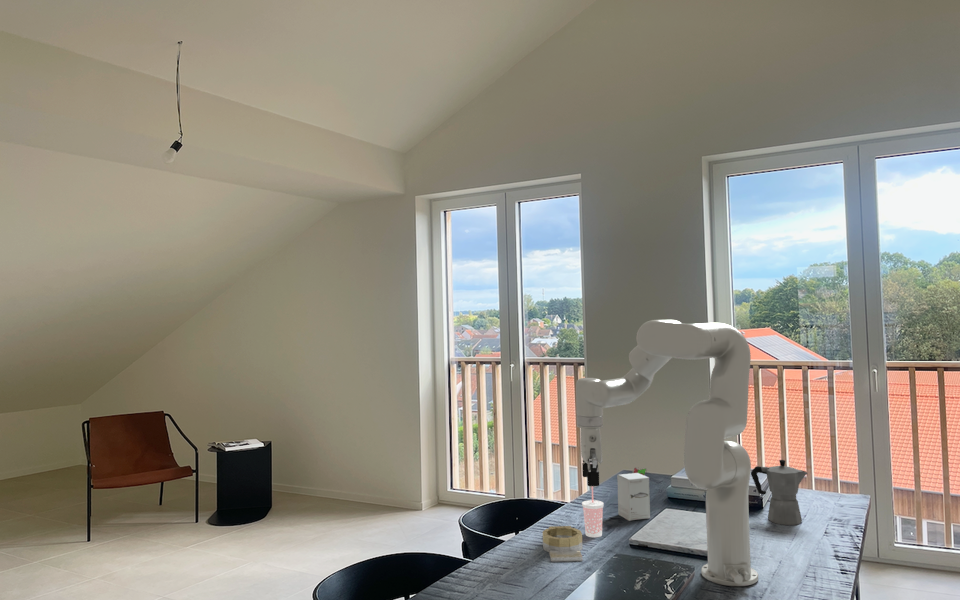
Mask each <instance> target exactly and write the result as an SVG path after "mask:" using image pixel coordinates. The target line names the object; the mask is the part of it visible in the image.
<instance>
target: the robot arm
mask: <svg viewBox="0 0 960 600" xmlns="http://www.w3.org/2000/svg"><path fill="white" fill-rule="evenodd" d="M636 343H637V345H636V346H634V347H633V349H631V351H630V352H629V353H628V360H629V363H630V365H631V367H632V368H631V369H629V371H628V372H627V373H626V374H624V375H623V376H622V377H618V378H611V379H604V380H601V379H600V378H595V377H583V378H582V377H581V378H578V379H577V380H576V382H575V400H576V401H575V402H576V403H575V405H576V406H575V407H576V409H575V410H576V413H575V414H576V419H575V420H576V427H577V428H579V429H580V431H579V432H580V457H581V458H582V463H581V464H582V468H581V469H582V478H587V481H586V482H587V486H588V487H591V486H593V487H599V486H600V470H599V469H600V468H599V464H602V463H603V447H602V434H601V428H603V427H604V409H606V408H607V409H608V408H612V407H618V406H624V405H629V404H631V403H632V402H635V401H636V400H637V399H638V398H640V397H641V396H642V395H643V394H644V393H645V392H646V391H647V390H648V389H649V388H650V387H651V385H652V383H653V381H654V378H655V374H656V373H657V372H658V371H659V370H661V369H662V367H664V366H665V365H666V364H667V363H668V362H669V361H670V360H672V359H673V358H674V359H680V360H689V361H690V360H691V361H692V360H693V361H694V360H695V361H697V360H705V359H714V360H715V362H714V363H715V364H714V366H713V368H712V371H711V373H710V374H711V375H710V379H709V380H710V382H709V385H710V388H709V396H708V399H703V400H699V401H698V402H696V403H695V404H693V405H692V406H691V408H690V409H689V411H688V413H687V416H686V419H685V428H684V447H683V448H684V449H683V450H684V452H683V466H684V467H683V468H684V472H685V475H686V477H687V479H688V481H689V482H690V484H692V485H693V486H694V487H695V488H698V489H700V490H706V491H705V518H706V519H705V521H706V542H707V543H706V544H707V545H706V546H707V547H706V548H707V550H706V551H707V563H706V564H704V565H702V566H701V571H700V573H701V576H702V577H703V578H704V579H706V580H707V581H708V582H709V581H710V582H711V583H714V584H718V585H722V586H729V587H746V586H748V587H749V586H752V585H754V584H756V583H757V582H758V581H759V573H758V572H757V570H755V569H754V568H752V567H751V561H752V560H751V541H750V540H751V538H750V536H751V535H750V517H749V516H750V515H749V511H750V510H749V507H750V506H749V505H750V504H749V492H750V491H749V488H750V480H751V479H750V478H751V471H752V466H751V465H752V463H751V458H750V456H749V453H748V451H747V449H745V447H743V445H741V444H739V443H738V442H736V441H731V440H725V439H730V438H733V437H736V436H738V435H740V434H742V433H743V432H744V431H745V429H746V427H747V423H748V408H749V391H750V390H749V383H750V382H749V381H750V372H751V371H750V370H751V349H750V345H749V343H748V340H747V338H746V337H745V336H744V335H743V333H742V332H741V331H739V330H738V329H737V328H735V327H734V326H732V325H729V324H727V323H723V322H713V321H712V322H702V323H701V322H698V323H684V322H683V323H682V322H681V321H679V320H676V319H671V318H669V319H668V318H667V319H665V318H664V319H651V320H648V321H645V322H644V323H642V324H641V326H640V327H639V328H638V329H637V332H636Z"/></svg>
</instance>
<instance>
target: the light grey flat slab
mask: <svg viewBox="0 0 960 600" xmlns="http://www.w3.org/2000/svg"><path fill="white" fill-rule="evenodd" d="M552 537H558V538H568V537H572V536H566V535H557V536H552ZM542 548H543V551H545V552H548V553H549V557H550V558H549V559H550V562H554V563H555V562H558V563H559V562H583V559H584V558H583V555H582V553H581V551H582V550H583V548H584V547H583V541H582V542H581V543H580V544H579V545H575V546H571V547H556V546H550V545H548V544H546V543H544V542H543V541H542Z"/></svg>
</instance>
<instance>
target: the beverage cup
mask: <svg viewBox="0 0 960 600" xmlns="http://www.w3.org/2000/svg"><path fill="white" fill-rule="evenodd" d="M590 487H591V499H590V500H584V501H582V502H581V505H582V506H581V507H582V508H583V511H582V512H583V520H584V532H585V536H587V537H589V538H600V537H602V536H603V513H604V512H603V511H604V509H603V508H604V501H600V500H598V499H597V500H596V499H594V486H590Z"/></svg>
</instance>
